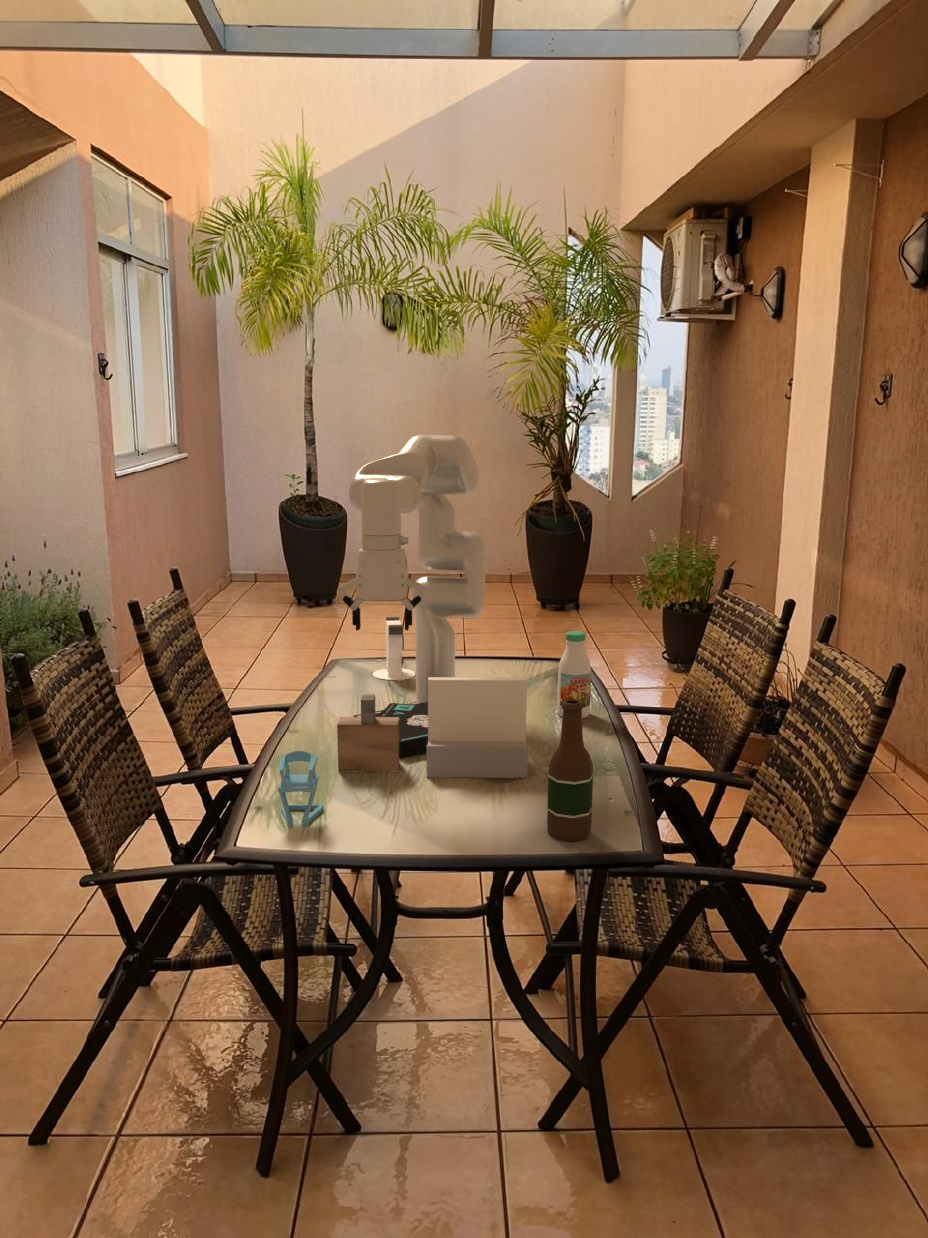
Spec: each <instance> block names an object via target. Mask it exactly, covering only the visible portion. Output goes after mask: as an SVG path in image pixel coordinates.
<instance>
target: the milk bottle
mask: <svg viewBox="0 0 928 1238" xmlns="http://www.w3.org/2000/svg"><path fill="white" fill-rule="evenodd" d="M586 635H587V634H586V633H585V632H584V631H580V630H570V631H569V630H568V631H567V632H566V633H565V642H566V645H565V649H564V652H563V654H562V656H561V658H560V661H559V663H558V664H559V665H558V671H557V672H558V673H557V701H556V702H557V704H556V705H557V709H556V711H557V712H556V713H557V715H558V716H560V717H562V718H563V709H562V708H561V707H562V704H563V702H564V701H565V700H570V699H573V700H578V701H581V702H582V703H583V709H582V719H585V718H587V717H589V716H590V713H591V692H592V689H591V688H592V686H591V685H592V667H591V661H590V659H589V656H588V654H587V652H586V647H585V643H586Z"/></svg>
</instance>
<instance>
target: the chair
mask: <svg viewBox="0 0 928 1238" xmlns="http://www.w3.org/2000/svg"><path fill="white" fill-rule="evenodd" d="M318 760H319V758H318V756H316V755H315V754H312V753H310V752H308V751H304V750H296V751H291V752H289V753H287V754H285V755H283V756H281V757H280V758H279V759H278V764H279V765H278V766H279V775H280V778H281V779H280V783H279V785H278V787H277V792H278V793H279V795H280V796H279V797H280V799H281V803H282V804H281V805H280V808H281V809H280V811H281V814H282V815H283V818H284V820H285V822H286V825H287V827H288V828H293V826H294V820H293V816H292V813H291V811H303V810H304V812H303V815H302V819H301V827H302V828H307V827H308V825H309V824H311V822H312V821H313V820H314V819H316V818H317V817H318V816H319V815H320V814H321V813H322V812H323V811H324V804H321V803H320V804H313V803H314V799H315V795H316V791H317V786H318V782H319V779H320V776H319V775H320V773H319V774H317V773H316V765H317V762H318ZM293 762H307V763H309V768H308V774H291V772H290V771H291V770H290V766H289V763H293ZM291 792H293V793H294V792H297V793H298V792H301V793H310V794H309V798H308V801H307V803H306V804H289V801H288V799H287V795H286V793H291ZM311 810H312V811H311Z"/></svg>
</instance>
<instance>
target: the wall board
mask: <svg viewBox="0 0 928 1238" xmlns="http://www.w3.org/2000/svg"><path fill="white" fill-rule="evenodd" d="M527 680H528V678H527V677H472V676H471V677H463V676H462V677H461V676H460V677H456V676H455V677H428V745H427V753H426V778H450V777H474V778H475V779H476V778H479V779H481V778H485V779H486V778H487V779H488V778H490V779H528V763H529V762H528V757H529V756H528V755H529V749H528V748H529V747H528V746H529V745H527V701H528V700H527V697H528V696H527V694H528V692H527V690H528V689H527V688H528V687H527V686H528V684H527V683H528V681H527ZM519 777H521V778H519ZM524 777H526V778H524Z"/></svg>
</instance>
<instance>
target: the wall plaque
mask: <svg viewBox="0 0 928 1238" xmlns="http://www.w3.org/2000/svg"><path fill="white" fill-rule="evenodd" d="M352 717H361V713H359V714H355V715H353V716H352ZM375 717H399V760H400V759H402V760H403V759H406V758H412V757H416V756H421V755H427V745H428V702H424V703H419V704H410V703H399V702H398V703H397V702H390V703H389V704H388V705H387V706H386V707H385V708H384V709H381V710H377V711H376V710H375Z"/></svg>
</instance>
